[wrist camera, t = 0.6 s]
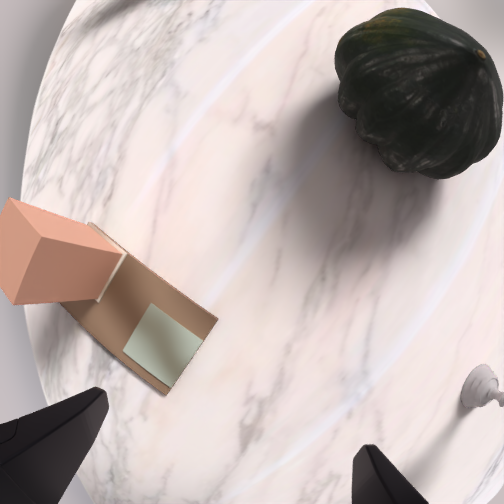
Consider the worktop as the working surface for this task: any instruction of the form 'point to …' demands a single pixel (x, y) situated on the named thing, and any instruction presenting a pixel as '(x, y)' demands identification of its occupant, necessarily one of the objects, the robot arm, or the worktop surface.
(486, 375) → the chalice
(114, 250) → the terracotta block
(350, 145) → the worktop surface
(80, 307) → the walnut board
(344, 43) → the squash
